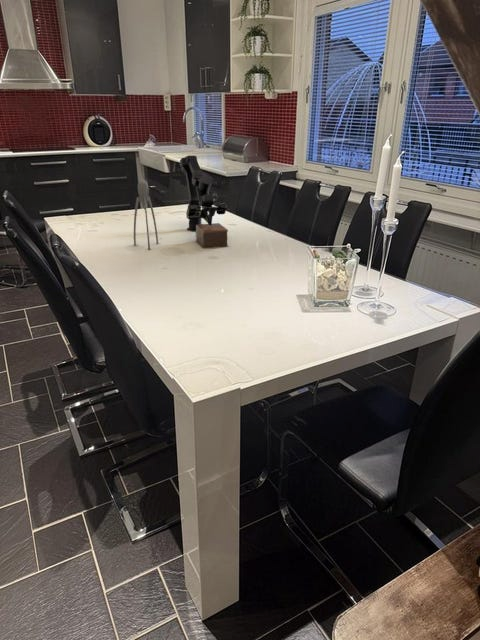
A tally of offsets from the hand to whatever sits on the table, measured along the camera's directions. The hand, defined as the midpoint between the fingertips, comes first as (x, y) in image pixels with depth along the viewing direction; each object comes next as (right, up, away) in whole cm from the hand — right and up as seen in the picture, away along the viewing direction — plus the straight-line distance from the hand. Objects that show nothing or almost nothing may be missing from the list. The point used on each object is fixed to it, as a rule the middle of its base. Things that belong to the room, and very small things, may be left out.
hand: (210, 224), depth 221 cm
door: (0, -2, 0) cm, 2 cm away
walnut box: (0, -8, +3) cm, 9 cm away
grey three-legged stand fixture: (-31, -11, -2) cm, 33 cm away
